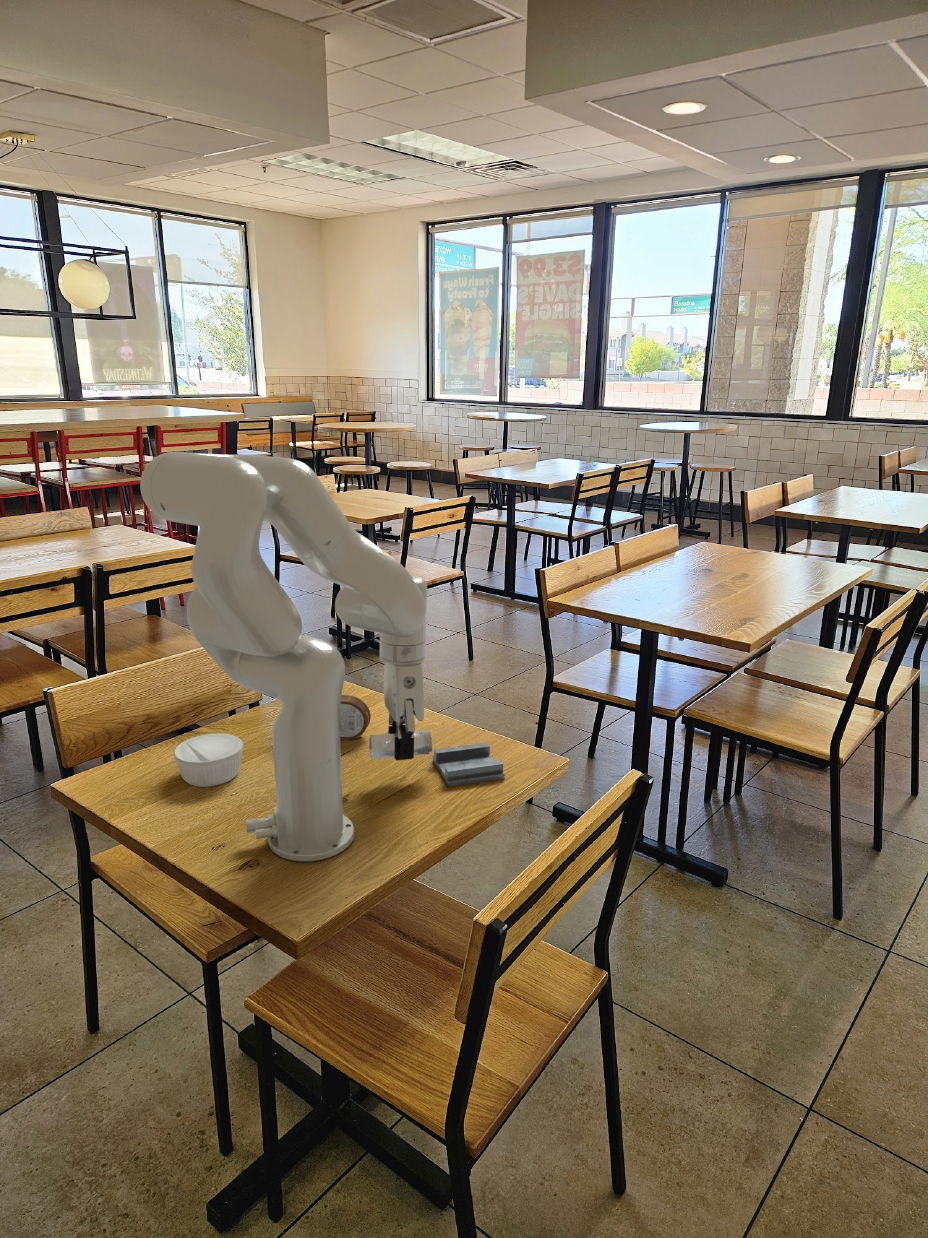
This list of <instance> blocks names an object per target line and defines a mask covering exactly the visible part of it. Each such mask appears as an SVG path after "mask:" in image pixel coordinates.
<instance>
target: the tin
mask: <svg viewBox="0 0 928 1238" xmlns="http://www.w3.org/2000/svg"><path fill="white" fill-rule="evenodd" d="M371 718H372V716H371V712H370V709H369V706H368V705H367V704H366V703H365V702H364V701H363V700H362V699H361V698H359V697H356V696H354V695H350V694H349V695H347V694H342V695H341V703H340V740H354V739H356V738H359V737H361V736H362V735H363V734H364V733H365V732H366V730H367V729H368V727H369V725H370V723H371Z"/></svg>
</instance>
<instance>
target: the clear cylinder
mask: <svg viewBox="0 0 928 1238" xmlns="http://www.w3.org/2000/svg"><path fill="white" fill-rule="evenodd" d="M395 737H397V733H393V734H388V733H385V734H384V733H383V734H373V735H372V734H371V735H370V736H369V738H368V747H369V756H370V759H371V760H380V759H381V760H382V759H391V758H392V759H393V758H394V752H395ZM432 752H433V740H432V734H431V732H430V730H419V731H416V730H415V731H414V756H423V755H431V754H432Z"/></svg>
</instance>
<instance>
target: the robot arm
mask: <svg viewBox="0 0 928 1238" xmlns="http://www.w3.org/2000/svg"><path fill="white" fill-rule="evenodd" d="M139 487H140V493H141V497H142V500H143V501H144V503H145V506H146V507H147V508H148V509H149V510H150V511H151V512H152V513H153V514H154V515H155V516H157V517H159V518H161V519H163V520H165V521H168V522H173V523H178V524H179V523H180V524H186V525H191V526H197V527H199V530H198V534H197V537H196V542H195V547H194V551H193V557H192V560H191V576H192V581H193V582H194V583H193V584H194V585H195V587H194V589H193V591H192V592H191V594H190V596H189V598H188V602H187V605H186V618H187V619H186V620H187V623H188V626H189V629H190V631H191V634H192V635H193V637H194V638H195V640H196V641H197V643H199V645H200V646H201V647H202V648H203V650H204V651H205V652H206V653H207V654H208V655H209V656H210V657H211V659H213V660H214V662H215V663H216V664H217V665H218V666H219V667H220V668H221V669H222V670H223V672H225V674H226V675H227V676H228V677H229V678H230V679H231V680H232V681H234V683H236V684H237V685H239V686H241V687H242V688H245V689H247V690H249V691H252V692H256V693H259V694H262V695H265V696H269V697H272V698H274V699H277V700H279V701H280V702H281V706H282V707H281V709H280V712H279V714H278V715H277V717H276V718H275V721H274V723H273V727H272V734H271V735H272V751H273V752H272V753H273V764H274V765H273V766H274V778H275V779H274V780H275V782H274V783H275V796H276V806H274V807H273V813H272V814H267V817H261V818H251V819H246V820H245V828H246V833H247V834H251V833H255V840H261V839H266V838H268V846H269V848H270V849H271V851H272V852H273V853H274V854H275V855H277V856H279V857H281V858H282V859H286V860H288V861H295V862H316V861H322V860H325V859H326V860H327V859H328V858H331V857H334V856H337V855H339V854H340V853H341V852H343V851H345V850H346V849H348V848H349V846H351V844H352V842H353V840H354V838H355V825H354V823H353V822H352V820H350V817H349V818H348V817H347V816H346V815H344V806H343V805H344V804H343V803H344V802H343V801H344V800H343V779H342V778H343V777H342V753H341V751H342V747H341V739H340V703H341V695H343V689H344V683H345V678H346V677H345V676H346V666H345V661H344V658H343V655H342V654H341V652H340V651H339V650H338V649H337V648H336V647H335V646H334V645H332V643H329V642H328V641H326V640H323V639H320V638H317V637H315V636H310V635H308V634H307V635H306V634H303V622H302V619H301V615H300V612H299V610H298V608H297V606H296V604H295V603H294V602H293V600H292V599H291V598H290V596H289V595H288V594H287V592H286V591H285V590H284V588H283V586H282V585H281V584H280V582H279V581H278V579H276V577H275V576H274V574H273V573H272V571H271V570H270V569H269V567H268V565H267V564H266V562H265V560H264V559H263V557H262V553H261V551H260V537H261V532H262V528H263V527H262V526H263V522H268V523H269V524H270V525H272V527H274V529H275V530H276V531H277V532H278V534H279V535H280V536H281V537H282V539H284V541H285V542H286V543H287V545H288V546H289V548H291V550H293V552H294V553H295V555H296V556H297V557H298V559H299V560H300V561H301V562H302V564H303V565H304V566H305V567H306V568H307V569H309V570H310V571H311V572H313V573H315V574H316V575H317V576H320V577H321V578H324V579H325V580H327V581H330V582H331V583H334V584H336V585H338V586H341V589H340V590H339V591H338V593H337V595H336V597H335V602H334V610H335V612H336V615H337V617H338V618H339V620H341V621H342V622H343V623H344V624H346V625H348V626H350V627H352V628H355V629H358V630H359V629H360V630H363V631H369V632H374V633H378V634H379V660H380V661H381V662H382V663H384V668H383V669H384V675H383V699H384V700H383V701H384V706H385V708H386V709H387V712H388V725H389V726H388V728H387V729H388V733H387V734H393V733H397V737H395V752H394V757H393V758H394V760H395V761H405V760H406V761H407V760H413V759H414V758H415V755H414V732H416V724H415V722H416V721H415V718H416V719H417V721H419V722H423V721H424V719H425V696H424V695H425V691H424V687H425V686H424V674H423V673H424V672H423V665H422V664H423V663H424V662H425V661H426V652H427V651H426V650H427V649H426V648H427V647H426V645H427V641H426V640H427V614H428V613H427V612H428V611H427V606H428V585H427V582H426V580H425V579H424V578H423V577H421V576H420V575H419V576H418V575H415V574H410V573H409V571H408V570H407V568H405V567H404V566H403V565H402V564H401V563H400V562H399V561H398V560H397V559H395V558H394V557H393V556H392V555H390V554H389V553H387V552H386V551H385V550H383V548H381V547H379V546H378V545H376V544H375V543H374V542H373V541H371V540H370V539H369V538H367V537H366V536H364V535H362V534H361V533H359V532H357V530H356V529H355V528H354V527H353V526H352V525H351V523H350V521H349V520H348V519H347V517H346V516H345V514H344V513H343V512H342V510H341V509H340V507H339V506H338V504H337V503H336V501H335V499H333V497H332V495H331V494H330V493H329V491H328V489H327V488H326V487H325V485H324V484H323V482H322V481H321V480H320V479H319V477H318V475H316V473H315V471H314V470H313V469H312V468H311V467H310V466H309V465H307V463H304V462H302V461H300V460H297V459H295V458H294V459H293V458H290V457H289V458H288V457H279V456H270V455H269V456H267V455H258V454H223V453H222V454H221V453H220V454H217V453H199V452H183V451H168V452H164V453H161V454H159V455H158V456H155V457H154V458H153V459H151V460H150V461H149V462H148V463H147V464H146V466H145V468H144V469H143V471H142V474H141V478H140V486H139Z"/></svg>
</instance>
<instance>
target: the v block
mask: <svg viewBox="0 0 928 1238" xmlns="http://www.w3.org/2000/svg"><path fill="white" fill-rule="evenodd" d="M490 750H491V746H490V745H489V743H488V742H483V743H475V744H467V745H460V746H450V747H444V748H437V749H434V750H433V755H432V761H433V763H434V765H435V767H436V768H437V770H438V772H439V773H440V775H441V777H442V778H443V780H444V781H445V783H446V785H447V787H448V788H451V787H452V788H453V787H458V786H465V785H466V786H467V785H472V784H479V783H485V782H490V781H491V782H492V781H493V782H494V781H499V780H505V777H506V773H505V772H504V763H503V761H502V760H501V759H496V760H495V758H494V757H493V756H492V754H490V753H491V751H490Z"/></svg>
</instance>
